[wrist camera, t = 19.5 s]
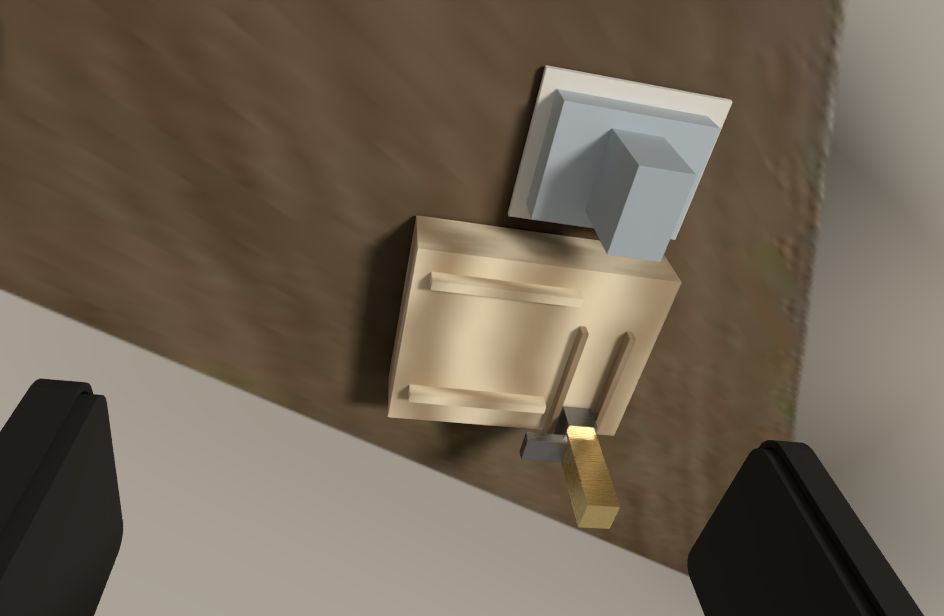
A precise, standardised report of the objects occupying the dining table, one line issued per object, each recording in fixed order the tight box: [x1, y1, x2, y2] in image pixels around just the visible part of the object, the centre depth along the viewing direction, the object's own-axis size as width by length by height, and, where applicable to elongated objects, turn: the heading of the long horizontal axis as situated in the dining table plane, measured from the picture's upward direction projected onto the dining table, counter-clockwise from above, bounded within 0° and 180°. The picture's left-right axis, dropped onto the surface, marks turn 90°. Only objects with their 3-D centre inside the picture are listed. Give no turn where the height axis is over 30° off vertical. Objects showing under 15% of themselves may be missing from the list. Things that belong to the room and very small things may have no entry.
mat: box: [508, 65, 732, 240], centre depth 40 cm, size 11×9×1 cm
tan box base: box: [388, 215, 681, 435], centre depth 44 cm, size 16×13×5 cm
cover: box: [526, 89, 721, 262], centre depth 37 cm, size 9×7×7 cm
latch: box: [520, 407, 620, 529], centre depth 43 cm, size 5×3×8 cm, turn 78°
